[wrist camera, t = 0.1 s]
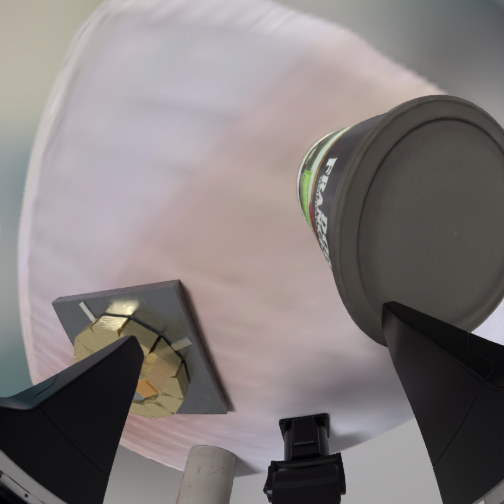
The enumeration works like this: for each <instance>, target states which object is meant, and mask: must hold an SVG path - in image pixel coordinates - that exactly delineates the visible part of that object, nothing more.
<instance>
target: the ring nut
mask: <svg viewBox="0 0 504 504" xmlns="http://www.w3.org/2000/svg"><path fill="white" fill-rule="evenodd" d="M126 335H134V336H136V338H137V339H138V342H139V344H140V346H141V348H142V350H143V352H144V360H143V364H142V368H141V372H140V376H139V381H138V385H137V389H136V391H137V392H138V393H139V394H140V395H141V396H142V397H143V398H145V397H147V398H145V399H143V400H133V401H132V404H131V407H130V410H129V411H130V413H132V414H136V415H140V416H144V417H149V418H153V417H154V418H160V417H165V416H170V415H173V414H174V413H176V412H177V410H178V409H179V407H180V405H181V404H182V402H183V401H184V398H185V395H186V392H187V389H188V387H189V386H188V385H189V381H188V378H187V374H186V370H185V366H184V363H181V361H182V359H181V358H180V357H179V356H178V355H177V354H176V353H175V352H174V351H173V350H172V348H171V347H170V346H169V345H168V344H167V343H166V342H165V340H164V339H163V338H160V339H158V340H157V338H158V336H159V335H158V334H156V333H154V332H152V331H151V330H149V329H147V328H145V327H143V326H142V325H140V324H138V323H136V322H135V321H133V320H130V322H129V321H128V318H121V317H112V316H104V315H103V316H102V317H101V316H100V317H98V318H97V319H95V320H94V321H92V322H91V323H90V324H88V325H87V326H86V327H85V328H84V329H83V330H82V331H81V332H80V333H79V334H78V335H77V336H76V338H75V343H74V356H75V360H76V362H79V361H81V360H83V359H84V358H86V357H88V356H90V355H92V354H93V353H95V352H97V351H99V350H100V349H102V348H104V347H106V346H108V345H109V344H111V343H113V342H115V341H116V340H118V339H120V338H122V337H123V336H126Z"/></svg>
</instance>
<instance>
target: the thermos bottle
mask: <svg viewBox="0 0 504 504" xmlns="http://www.w3.org/2000/svg"><path fill="white" fill-rule="evenodd" d="M235 466H236V457H235V456H234V454H232V453H231V452H229V451H227V450H224V449H222V448H218V447H214V446H205V445H202V446H195V447H193V448H191V450H190V453H189V456H188V460H187V463H186V467H185V470H184V474H183V478H182V481H181V485H180V488H179V493H178V497H177V501H176V504H229V501H230V496H231V491H232V486H233V479H234V472H235Z"/></svg>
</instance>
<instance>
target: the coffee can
mask: <svg viewBox="0 0 504 504" xmlns="http://www.w3.org/2000/svg"><path fill="white" fill-rule="evenodd" d="M297 196H298V202H299V206H300V209H301V212H302V214H303V216H304V218H305V220H306V221H307V223H308V224H309V226H310V227H311V229H312V231H313V233H314V235H315V237H316V239H317V241H318V243H319V245H320V247H321V249H322V251H323V253H324V256H325V257H326V260H327V262H328V264H329V266H330V268H331V270H332V272H333V276H334V279H335V283H336V286H337V289H338V292H339V295H340V297H341V299H342V302H343V304H344V306H345V308H346V309H347V311H348V313H349V315H350V316H351V318H352V320H353V321H354V322H355V323H356V325H357V326H358V327H359V328H360V329H361V330H362V331H363V332H364V333H365V334H366V335H368V336H369V337H370V338H371V339H373V340H374V341H375V342H377V343H379V344H381V345H383V346H386V347H388V345H387V342H386V339H385V336H384V333H383V330H382V305H383V303H385V302H389V301H396V302H399V303H401V304H403V305H406V306H408V307H411V308H413V309H415V310H418V311H420V312H423V313H425V314H427V315H430V316H432V317H434V318H437V319H439V320H442V321H444V322H446V323H449V324H451V325H453V326H456V327H458V328H460V329H463V330H465V331H467V332H469V333H471V332H472V331H473V330H475V329H476V328H477V327H478V326H480V325H481V324H482V323H483V322H484V321H485V320H486V319H487V318H488V317H489V316H490V315H491V314H492V313H493V312H494V310H495V309H496V308H497V307H498V305H499V304H500V303H501V301H502V300H503V298H504V129H503V128H502V127H501V126H500V125H499V124H498V123H497V121H496V120H495V119H494V118H493V117H491V116H490V115H489V114H488V113H487V112H486V111H484V110H483V109H482V108H480V107H478V106H477V105H475V104H474V103H472V102H469V101H467V100H465V99H462V98H459V97H455V96H449V95H429V96H424V97H419V98H415V99H412V100H410V101H407V102H404V103H402V104H400V105H398V106H396V107H395V108H393V109H391V110H390V111H389V112H387V113H384V114H382V115H378V116H375V117H373V118H370V119H368V120H365V121H363V122H360V123H357V124H355V125H352V126H350V127H347V128H344V129H341V130H337V131H334V132H332V133H330V134H328V135H326V136H324V137H323V138H321V139H320V140H319V141H318V142H316V143H315V144H314V145H313V146H312V148H311V149H310V150H309V151H308V153H307V154H306V156H305V157H304V159H303V162H302V164H301V167H300V170H299V174H298V179H297Z"/></svg>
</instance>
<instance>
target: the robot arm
mask: <svg viewBox="0 0 504 504" xmlns="http://www.w3.org/2000/svg"><path fill="white" fill-rule="evenodd" d="M382 330H383V333H384V336H385V339H386V342H387V345H388V349H389V352H390V355H391V358H392V361H393V364H394V367H395V369H396V372H397V374H398V376H399V379H400V381H401V383H402V386H403V388H404V390H405V393H406V395H407V398H408V400H409V402H410V405H411V407H412V410H413V412H414V415H415V418H416V420H417V423H418V426H419V428H420V431H421V434H422V436H423V439H424V442H425V445H426V448H427V450H428V454H429V457H430V460H431V463H432V466H433V470H434V473H435V476H436V479H437V483H438V487H439V490H440V494H441V497H442V502H443V504H478V503H480V502H481V501H483V500H484V502H485V504H504V346H503V345H500V344H498V343H495V342H492V341H489V340H487V339H484V338H482V337H479V336H477V335H474V334H472V333H469V332H467V331H465V330H463V329H460V328H458V327H456V326H453V325H451V324H449V323H446V322H444V321H442V320H439V319H437V318H434V317H432V316H430V315H427V314H425V313H423V312H420V311H418V310H415V309H413V308H411V307H408V306H406V305H403V304H401V303H399V302H396V301H389V302H385V303H383V305H382ZM143 360H144V352H143V350H142V348H141V346H140V344H139V342H138V339H137V338H136V336H134V335H126V336H123V337H122V338H120V339H118V340H116V341H115V342H113V343H111V344H109V345H108V346H106V347H104V348H102V349H100V350H99V351H97V352H95V353H93V354H92V355H90V356H88V357H86V358H84V359H83V360H81V361H79V362H77V363H76V364H74V365H72V366H70V367H68V368H67V369H65V370H63V371H61V372H59V374H56V375H54V376H52V377H50V378H48V379H47V380H45V381H43V382H41V383H39V384H37V385H35V386H33V387H31V388H29V389H26V390H24V391H22V392H20V393H18V394H16V395H13V396H11V397H0V504H103V501H104V496H105V492H106V488H107V484H108V481H109V476H110V472H111V469H112V465H113V462H114V458H115V455H116V451H117V448H118V444H119V441H120V438H121V435H122V431H123V428H124V425H125V422H126V419H127V416H128V413H129V410H130V407H131V404H132V401H133V398H134V395H135V392H136V389H137V385H138V381H139V376H140V372H141V368H142V364H143ZM279 426H280V429H281V433H282V436H283V440H284V443H285V444H284V461H271V465H270V466H269V467H268V477H267V480H266V483H265V486H264V489H263V491H264V493H265V494H266V495H267V497H268V500H269V502H270V503H272V504H340V502H341V495H345V493H346V483H345V474H344V468H343V463H342V458H341V452H339V453H336V454H332V455H329V448H328V440H327V438H329V417H328V414H326V413H325V414H319V415H312V416H305V417H298V418H290V419H281V420H279Z"/></svg>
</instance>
